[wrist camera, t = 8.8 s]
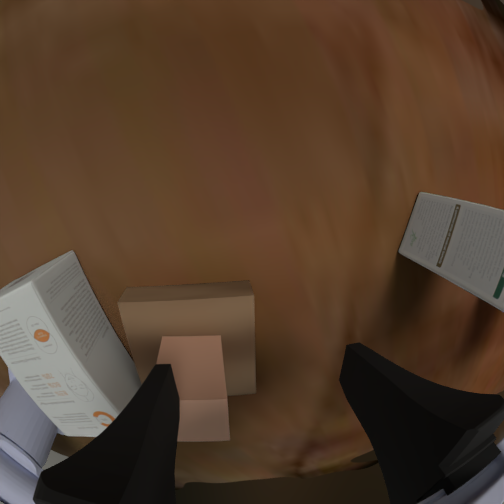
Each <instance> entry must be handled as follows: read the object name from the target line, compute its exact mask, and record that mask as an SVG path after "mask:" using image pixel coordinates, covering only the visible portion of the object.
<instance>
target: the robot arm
mask: <svg viewBox="0 0 504 504" xmlns="http://www.w3.org/2000/svg"><path fill="white" fill-rule="evenodd" d="M8 371H9V379H10V385H9V386H8V388H7V389H6V391H5V392H4V394H3V395H2V397H1V398H0V501H1V502H3V503H4V504H176V498H175V476H174V469H175V456H176V447H177V438H178V430H179V421H180V398H179V394H178V391H177V387H176V383H175V379H174V375H173V371H172V367H171V364H156V365H155V366H154V367H153V368H152V370H151V371H150V373H149V375H148V376H147V378H146V379H145V381H144V382H143V384H142V385H141V387H140V388H139V389H138V391H137V392H136V393H135V395H134V396H133V398H132V399H131V400H130V402H129V403H128V404H127V405H126V407H125V408H124V409H123V410H122V411H121V413H120V414H119V415H118V416H117V417H116V418H115V420H114V421H113V422H112V423H111V424H110V425H109V426H108V427H107V428H106V429H105V430H104V431H103V432H102V433H101V434H99V435H98V436H97V437H96V438H95V439H94V440H93V441H91V442H90V443H89V444H88V445H86V446H85V447H84V448H82V449H81V450H79V451H78V452H76V453H75V454H73V455H72V456H70V457H69V458H67V459H65V460H64V461H62V462H60V463H58V464H56V465H54V466H52V467H50V468H48V469H46V470H43V469H42V467H43V466H44V465H45V463H46V460H47V458H48V455H49V452H50V450H51V447H52V444H53V442H54V439H55V437H56V434H57V433H59V434H61V435H64V433H63V432H62V431H61V430H60V429H59V428H58V427H57V426H56V425H55V424H54V423H53V422H52V421H51V420H50V419H49V418H48V417H47V415H46V414H45V413H44V412H43V411H42V410H41V409H40V408H39V406H38V405H37V404H36V403H35V402H34V401H33V399H32V398H31V397H30V396H29V394H28V393H27V392H26V391H25V389H24V388H23V387H22V386H21V384H20V383H19V382H18V380H17V379H16V377H15V376H14V375H13V373H12V372H11V370H10V369H9V368H8ZM339 381H340V383H341V386H342V389H343V391H344V394H345V396H346V398H347V400H348V402H349V404H350V406H351V407H352V409H353V411H354V413H355V414H356V416H357V418H358V420H359V421H360V423H361V425H362V427H363V428H364V430H365V432H366V434H367V435H368V437H369V439H370V441H371V444H372V446H373V449H374V451H375V454H376V456H377V459H378V462H379V464H380V467H381V470H382V473H383V476H384V480H385V483H386V486H387V490H388V495H389V499H390V503H391V504H502V503H503V502H504V438H503V439H502V440H501V441H500V442H499V443H498V444H497V445H495V444H494V441H495V440H496V437H495V436H494V434H493V433H494V432H495V430H496V429H497V428H498V426H499V425H500V424H501V422H502V421H503V420H504V399H503V398H502V397H501V396H500V395H495V394H479V393H472V392H466V391H461V390H457V389H453V388H449V387H446V386H442V385H439V384H436V383H434V382H431V381H429V380H426V379H424V378H421V377H419V376H417V375H415V374H413V373H411V372H409V371H407V370H405V369H403V368H401V367H400V366H398V365H396V364H394V363H393V362H391V361H389V360H388V359H386V358H384V357H383V356H381V355H379V354H378V353H376V352H374V351H373V350H371V349H369V348H368V347H366V346H364V345H363V344H361V343H354V344H349V345H346V350H345V355H344V360H343V365H342V369H341V374H340V378H339Z"/></svg>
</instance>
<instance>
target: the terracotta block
mask: <svg viewBox="0 0 504 504" xmlns="http://www.w3.org/2000/svg"><path fill="white" fill-rule="evenodd" d="M156 364H171V367H172V371H173V375H174V379H175V383H176V387H177V391H178V394H179V398H180V421H179V430H178V438H177V441H183V442H203V441H229V440H230V432H229V416H228V400H227V391H226V382H225V373H224V363H223V353H222V343H221V335H216V336H162V340H161V345H160V349H159V354H158V358H157V363H156Z"/></svg>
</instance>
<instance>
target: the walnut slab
mask: <svg viewBox="0 0 504 504" xmlns="http://www.w3.org/2000/svg"><path fill="white" fill-rule="evenodd" d="M117 303H118V307H119V311H120V315H121V319H122V323H123V326H124V330H125V334H126V337H127V341H128V344H129V347H130V351H131V354H132V357H133V360H134V363H135V366H136V369H137V372H138V375H139V378H140V381H141V384H143V382H144V381H145V379H146V378H147V376H148V375H149V373H150V371H151V370H152V368H153V367H154V366H155V365H156V363H157V358H158V354H159V349H160V345H161V340H162V336H216V335H221V343H222V353H223V363H224V373H225V382H226V391H227V396H234V395H245V394H254V393H256V361H255V314H254V293H253V290H252V287H251V284H250V281H249V280H246V281H232V282H218V283H202V284H185V285H167V286H146V287H127V288H126V290H125V291H124V293H123V294H122V296H121V298H120V299H119V301H118V302H117Z"/></svg>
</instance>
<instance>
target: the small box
mask: <svg viewBox="0 0 504 504" xmlns="http://www.w3.org/2000/svg"><path fill="white" fill-rule="evenodd" d="M0 356H1V357H2V359H3V360H4V362H5V363H6V365H7V366H8V368H9V369H10V370H11V372H12V373H13V375H14V376H15V377H16V379H17V380H18V382H19V383H20V384H21V386H22V387H23V388H24V389H25V391H26V392H27V393H28V394H29V396H30V397H31V398H32V399H33V401H34V402H35V403H36V404H37V405H38V406H39V408H40V409H41V410H42V411H43V412H44V413H45V414H46V415H47V417H48V418H49V419H50V420H51V421H52V422H53V423H54V424H55V425H56V426H57V427H58V428H59V429H60V430H61V431H62V432H63V433H64V434H65V435H66V436H88V437H97V436H98V435H99V434H101V433H102V432H103V431H104V430H105V429H106V428H107V427H108V426H109V425H110V424H111V423H112V422H113V421H114V420H115V418H116V417H117V416H118V415H119V414H120V413H121V411H122V410H123V409H124V408H125V407H126V405H127V404H128V403H129V402H130V400H131V399H132V398H133V396H134V395H135V393H136V392H137V391H138V389H139V388H140V387H141V385H142V384H141V381H140V378H139V375H138V372H137V369H136V366H135V363H134V361H133V360H132V358H131V357H130V355H129V354H128V352H127V351H126V349H125V347H124V346H123V344H122V342H121V341H120V339H119V338H118V336H117V334H116V333H115V331H114V329H113V328H112V326H111V324H110V322H109V320H108V319H107V317H106V315H105V313H104V311H103V310H102V308H101V306H100V304H99V302H98V300H97V298H96V296H95V294H94V292H93V291H92V289H91V287H90V284H89V282H88V280H87V278H86V276H85V274H84V272H83V270H82V268H81V265H80V263H79V261H78V259H77V256H76V254H75V252H74V251H73V250H72V251H69V252H67V253H66V254H64V255H62V256H60V257H58V258H56V259H54V260H52V261H50V262H48V263H46V264H44V265H42V266H40V267H38V268H37V269H35V270H33V271H31V272H29V273H28V274H26V275H24V276H22V277H20V278H18V279H16V280H14V281H13V282H11V283H10V284H8V285H7V286H5V287H3V288H2V289H1V290H0Z"/></svg>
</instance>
